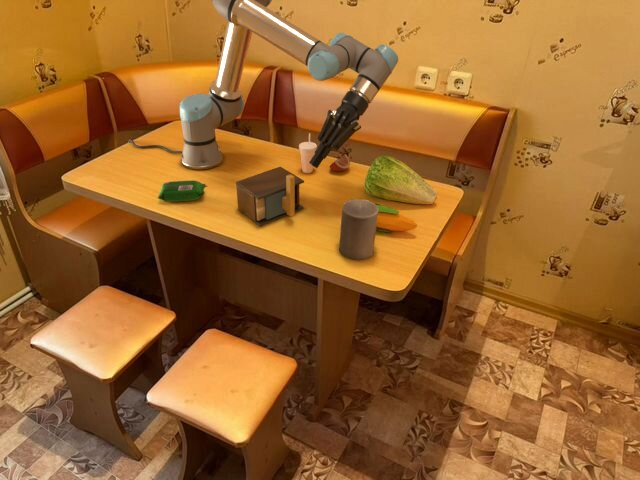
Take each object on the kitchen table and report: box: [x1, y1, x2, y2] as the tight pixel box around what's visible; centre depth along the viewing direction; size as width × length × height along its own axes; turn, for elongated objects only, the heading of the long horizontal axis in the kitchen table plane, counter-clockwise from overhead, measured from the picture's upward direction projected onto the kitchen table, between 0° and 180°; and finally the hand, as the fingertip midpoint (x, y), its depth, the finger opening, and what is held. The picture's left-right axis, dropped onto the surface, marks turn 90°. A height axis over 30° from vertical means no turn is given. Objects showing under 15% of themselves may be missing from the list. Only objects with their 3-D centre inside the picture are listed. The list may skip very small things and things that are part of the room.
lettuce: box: [363, 154, 438, 205], centre depth 158 cm, size 14×23×14 cm
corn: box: [374, 203, 418, 233], centre depth 146 cm, size 7×8×20 cm
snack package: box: [157, 180, 208, 203], centre depth 163 cm, size 7×16×5 cm, turn 94°
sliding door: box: [265, 174, 296, 220], centre depth 148 cm, size 5×8×14 cm, turn 126°
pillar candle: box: [338, 198, 378, 261], centre depth 135 cm, size 10×10×15 cm
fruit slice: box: [329, 153, 351, 172], centre depth 177 cm, size 8×7×5 cm
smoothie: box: [298, 132, 318, 174], centre depth 175 cm, size 6×6×14 cm
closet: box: [235, 166, 305, 227], centre depth 155 cm, size 12×17×10 cm
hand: (313, 165), depth 147 cm, fingers closed
